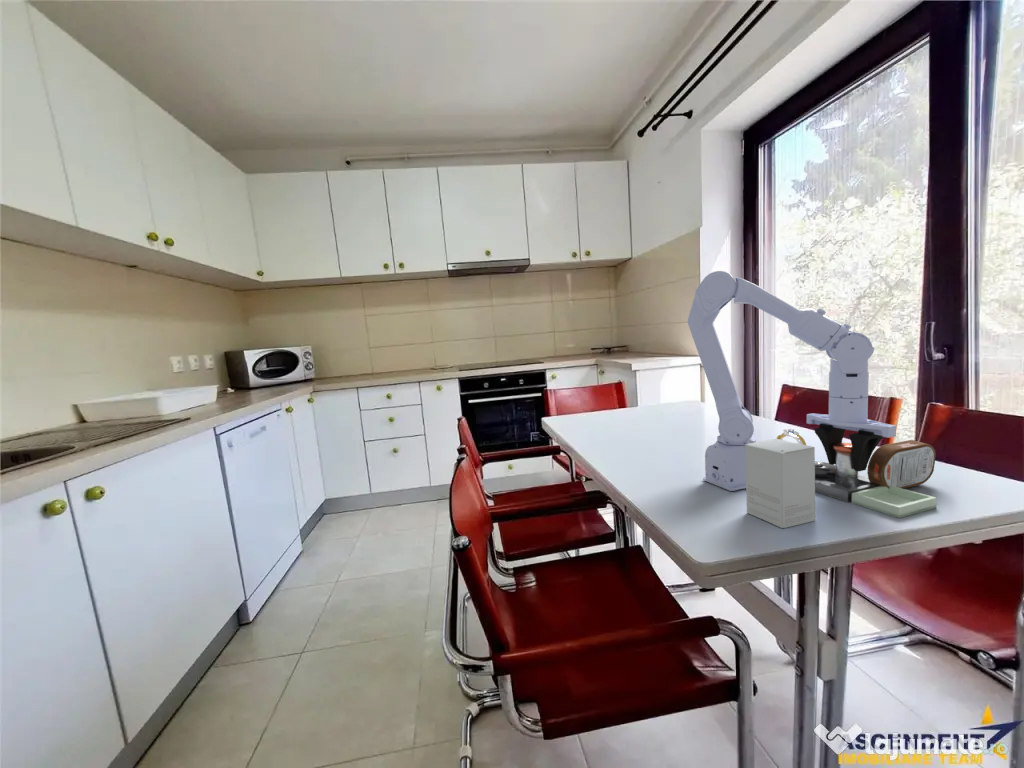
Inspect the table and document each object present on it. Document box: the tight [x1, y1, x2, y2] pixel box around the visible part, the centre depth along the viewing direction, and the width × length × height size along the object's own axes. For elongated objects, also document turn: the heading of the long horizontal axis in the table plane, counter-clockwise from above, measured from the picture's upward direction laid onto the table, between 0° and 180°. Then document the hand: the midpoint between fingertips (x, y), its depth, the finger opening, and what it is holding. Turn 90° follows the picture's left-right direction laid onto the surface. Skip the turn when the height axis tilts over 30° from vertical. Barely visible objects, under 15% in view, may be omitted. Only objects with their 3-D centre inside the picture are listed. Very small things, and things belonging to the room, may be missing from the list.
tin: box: [866, 439, 937, 489], centre depth 78 cm, size 15×3×8 cm, turn 107°
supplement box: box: [745, 438, 816, 529], centre depth 71 cm, size 7×7×13 cm
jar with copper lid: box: [833, 442, 859, 488], centre depth 79 cm, size 4×4×8 cm
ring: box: [775, 428, 807, 445], centre depth 98 cm, size 7×3×8 cm, turn 10°
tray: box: [851, 486, 938, 519], centre depth 72 cm, size 9×7×2 cm
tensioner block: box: [815, 460, 880, 503], centre depth 82 cm, size 10×12×4 cm
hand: (846, 466), depth 79 cm, fingers closed on jar with copper lid, 4 cm apart
